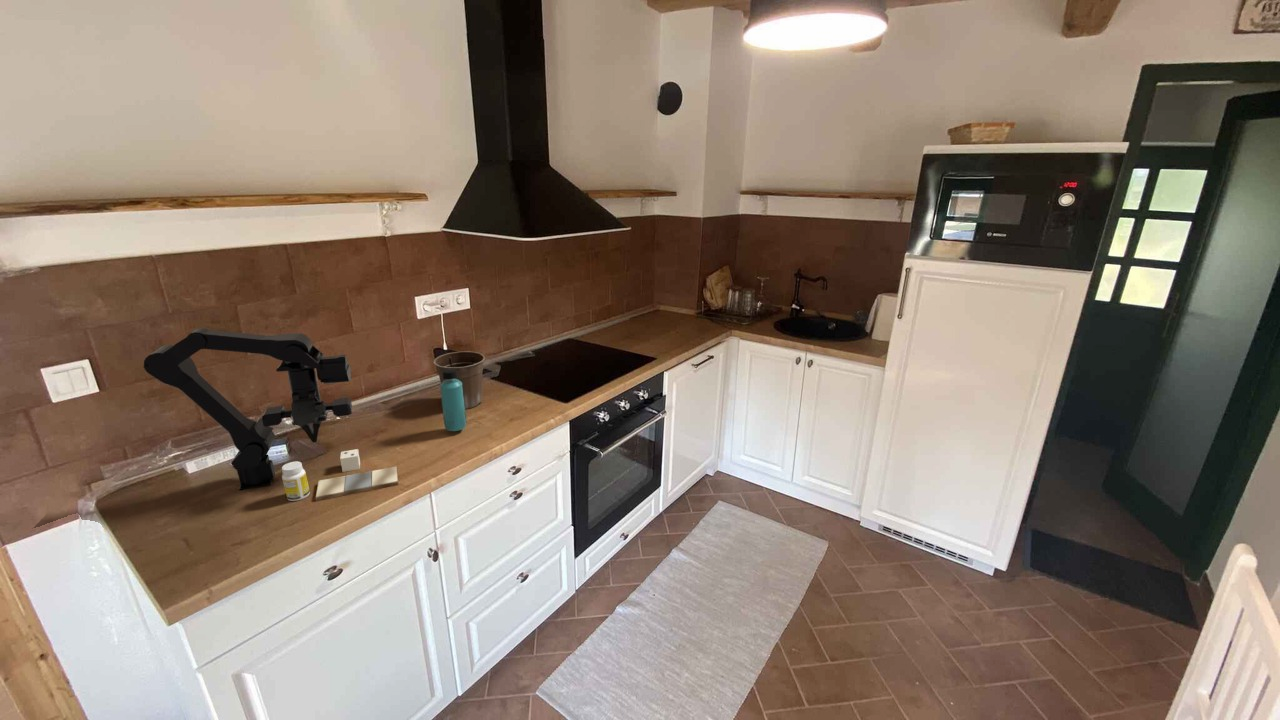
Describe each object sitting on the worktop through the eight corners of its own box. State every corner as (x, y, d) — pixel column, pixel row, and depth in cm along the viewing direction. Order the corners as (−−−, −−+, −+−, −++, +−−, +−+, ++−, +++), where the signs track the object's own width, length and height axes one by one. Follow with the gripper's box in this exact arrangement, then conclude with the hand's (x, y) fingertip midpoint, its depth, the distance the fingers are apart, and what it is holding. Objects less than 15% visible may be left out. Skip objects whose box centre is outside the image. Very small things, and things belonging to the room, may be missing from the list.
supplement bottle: (305, 488, 130) (299, 458, 127) (313, 495, 127) (307, 465, 124) (283, 496, 126) (276, 465, 123) (291, 504, 123) (284, 473, 120)
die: (342, 472, 137) (340, 458, 136) (343, 465, 140) (341, 451, 139) (359, 469, 139) (357, 455, 137) (360, 462, 142) (357, 448, 141)
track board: (316, 500, 125) (315, 497, 124) (319, 483, 131) (318, 480, 131) (398, 484, 132) (397, 481, 132) (397, 469, 139) (396, 465, 139)
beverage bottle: (471, 431, 161) (465, 370, 154) (451, 438, 156) (444, 375, 149) (460, 424, 165) (454, 364, 158) (440, 430, 160) (433, 369, 154)
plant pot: (448, 417, 169) (443, 370, 164) (431, 400, 181) (426, 356, 176) (495, 405, 179) (492, 360, 174) (476, 390, 191) (473, 348, 186)
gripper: (251, 403, 118) (265, 463, 123) (345, 391, 125) (355, 449, 131) (260, 385, 127) (273, 442, 132) (347, 376, 135) (356, 430, 140)
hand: (314, 441), depth 134 cm, fingers closed
